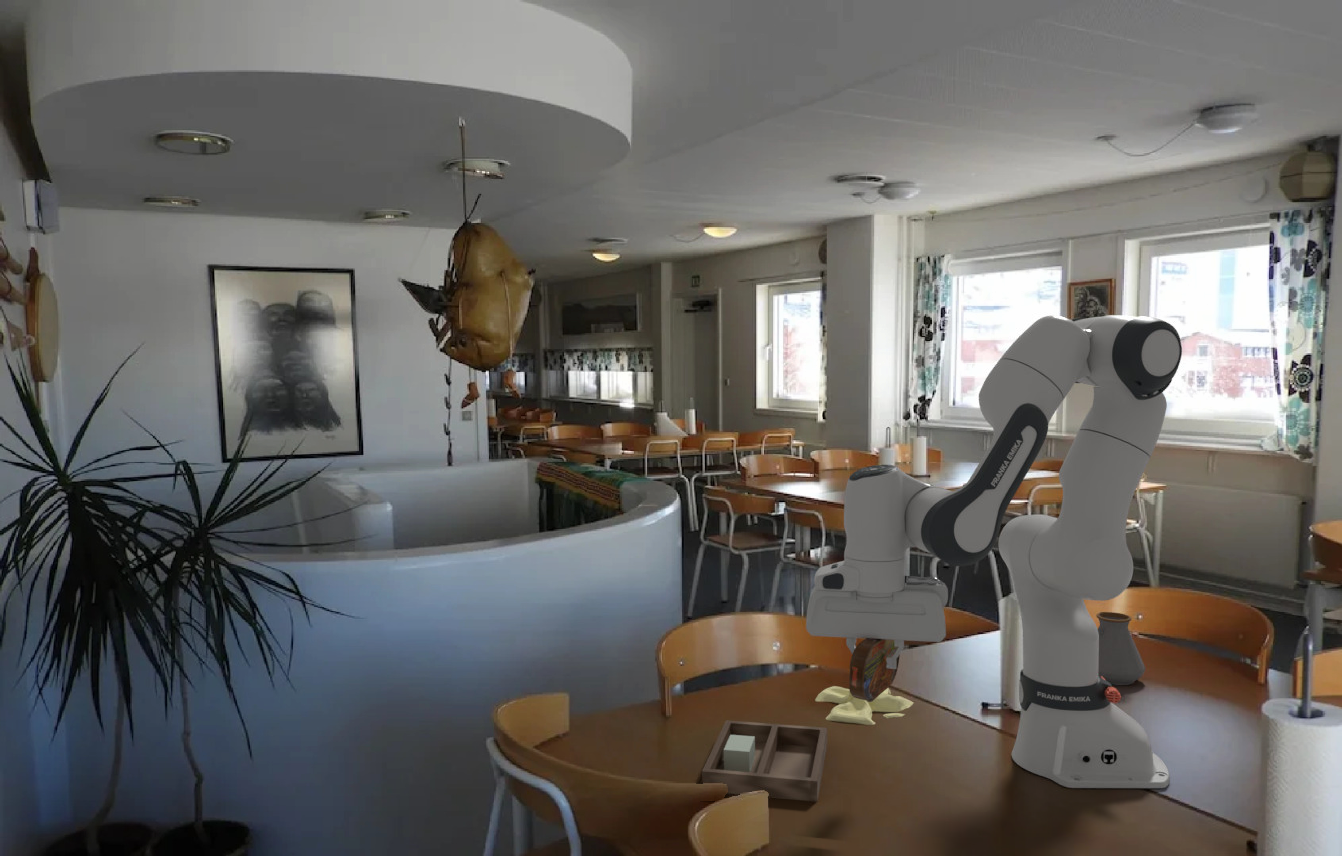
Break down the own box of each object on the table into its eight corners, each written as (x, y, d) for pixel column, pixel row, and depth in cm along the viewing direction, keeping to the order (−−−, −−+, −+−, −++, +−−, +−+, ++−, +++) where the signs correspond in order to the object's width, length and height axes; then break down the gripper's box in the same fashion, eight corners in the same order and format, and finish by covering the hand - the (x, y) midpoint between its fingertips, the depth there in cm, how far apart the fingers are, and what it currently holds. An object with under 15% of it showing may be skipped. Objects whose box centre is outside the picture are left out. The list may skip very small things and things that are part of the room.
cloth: (837, 733, 160) (837, 698, 159) (796, 697, 178) (796, 666, 177) (950, 718, 165) (950, 685, 165) (899, 685, 183) (899, 655, 183)
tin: (862, 709, 128) (869, 652, 127) (841, 703, 130) (848, 646, 129) (899, 679, 141) (905, 627, 140) (879, 673, 143) (885, 622, 142)
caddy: (827, 751, 151) (826, 727, 150) (817, 808, 131) (817, 781, 131) (726, 743, 155) (726, 720, 155) (702, 797, 135) (702, 771, 135)
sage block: (755, 757, 146) (754, 736, 146) (749, 773, 141) (749, 751, 140) (730, 755, 147) (730, 734, 147) (724, 771, 142) (723, 749, 141)
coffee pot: (1115, 667, 190) (1116, 596, 189) (1158, 685, 179) (1159, 610, 178) (1028, 677, 184) (1028, 605, 183) (1066, 697, 173) (1067, 619, 172)
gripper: (946, 572, 135) (946, 663, 136) (808, 568, 140) (809, 656, 140) (949, 582, 129) (949, 677, 130) (804, 577, 133) (805, 669, 134)
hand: (875, 666), depth 135 cm, fingers closed on tin, 3 cm apart
